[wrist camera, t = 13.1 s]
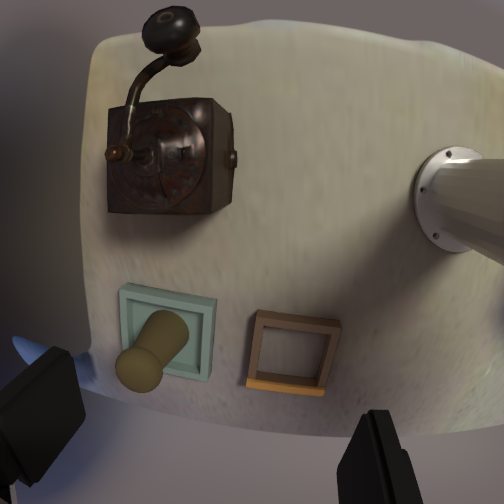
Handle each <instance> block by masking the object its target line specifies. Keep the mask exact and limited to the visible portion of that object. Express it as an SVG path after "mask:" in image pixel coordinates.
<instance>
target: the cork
mask: <svg viewBox="0 0 504 504" xmlns="http://www.w3.org/2000/svg"><path fill="white" fill-rule="evenodd" d="M188 340H189V329H188V326H187V324H186V323H185V321H184V320H183V319H182V318H181V317H180V316H179V315H178V314H176V313H174V312H172V311H168V310H157V311H155V312H153V313H152V314H151V315H150V316H149V317H148V319H147V320H146V322H145V324H144V326H143V328H142V329H141V331H140V333H139V335H138V337H137V338H136V340H135V342H134V344H133V346H132V347H130V348H127V349H125V350H124V351H123V352H122V353H121V354H120V355H119V356H118V358H117V360H116V364H115V368H116V374H117V377H118V379H119V380H120V382H121V383H122V384H123V385H124V386H125V387H127V388H128V389H130V390H132V391H134V392H137V393H146V392H150V391H152V390H153V389H155V388H156V387H157V386H158V385H159V383H160V381H161V379H162V375H163V369H164V368H165V367H166V366H167V365H168V363H169V362H170V361H171V360H172V359H173V358H174V357H175V356H176V355H177V354H178V353H179V352H180V351H181V350H182V349H183V348H184V346H185V345H186V344H187V342H188Z"/></svg>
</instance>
